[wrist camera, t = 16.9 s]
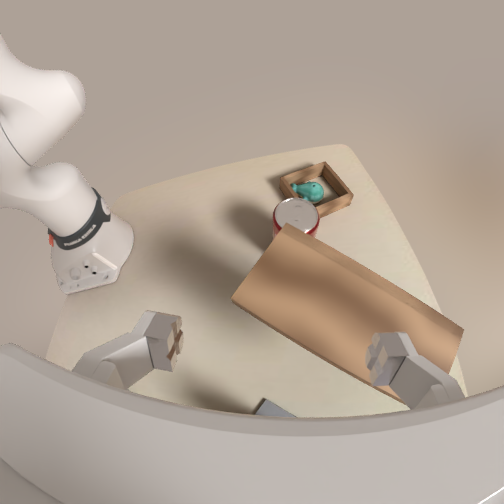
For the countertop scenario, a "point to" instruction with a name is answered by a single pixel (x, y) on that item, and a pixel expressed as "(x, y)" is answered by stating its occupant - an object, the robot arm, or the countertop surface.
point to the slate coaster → (272, 410)
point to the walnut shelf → (339, 306)
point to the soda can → (296, 216)
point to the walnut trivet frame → (313, 173)
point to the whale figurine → (309, 191)
